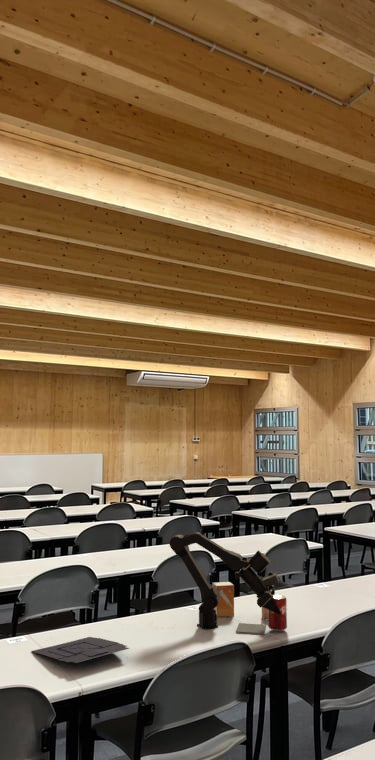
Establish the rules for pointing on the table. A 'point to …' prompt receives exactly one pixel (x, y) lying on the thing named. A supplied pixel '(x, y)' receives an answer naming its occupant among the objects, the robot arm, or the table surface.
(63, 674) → the table surface
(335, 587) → the table surface
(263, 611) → the orange-brown round cylinder
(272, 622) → the soda can
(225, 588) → the small box
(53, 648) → the dark grey flat square
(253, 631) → the coaster
